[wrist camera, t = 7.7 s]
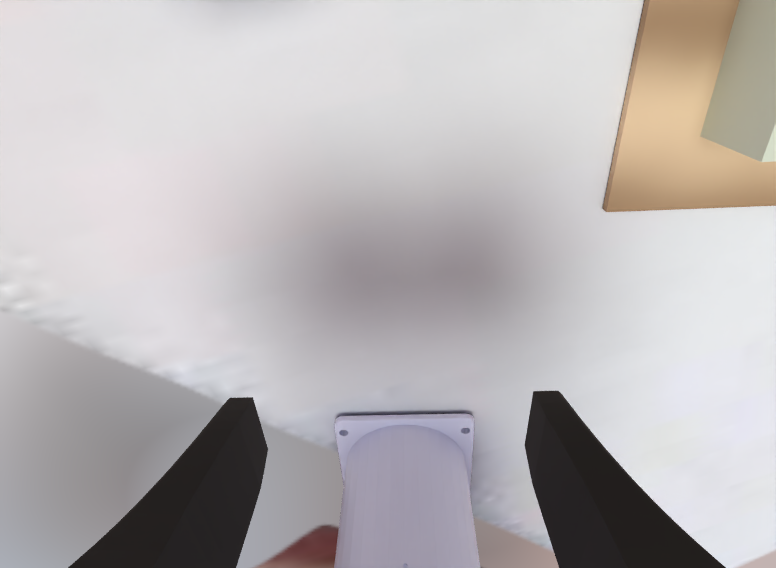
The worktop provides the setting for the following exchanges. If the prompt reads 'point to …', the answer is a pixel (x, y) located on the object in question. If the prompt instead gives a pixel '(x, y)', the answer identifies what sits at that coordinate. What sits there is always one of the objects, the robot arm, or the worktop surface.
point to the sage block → (747, 85)
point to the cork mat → (680, 118)
